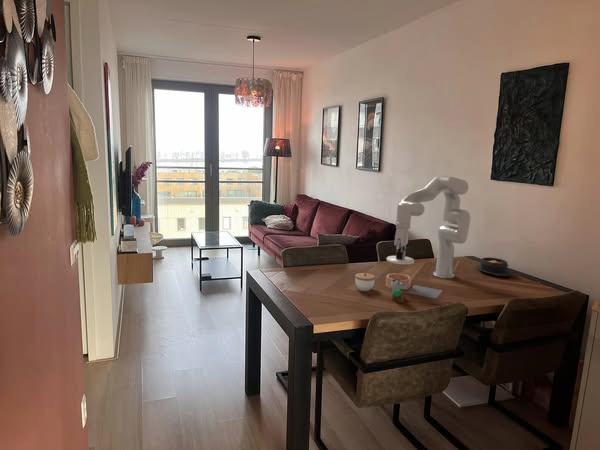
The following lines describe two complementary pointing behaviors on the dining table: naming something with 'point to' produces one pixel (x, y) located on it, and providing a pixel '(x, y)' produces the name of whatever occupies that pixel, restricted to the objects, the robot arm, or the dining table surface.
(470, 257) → the dining table surface
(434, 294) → the mat
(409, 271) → the dining table surface
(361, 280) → the lidded jar
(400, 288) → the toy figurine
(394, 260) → the lid
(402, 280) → the bowl
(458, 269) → the dining table surface
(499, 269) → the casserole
